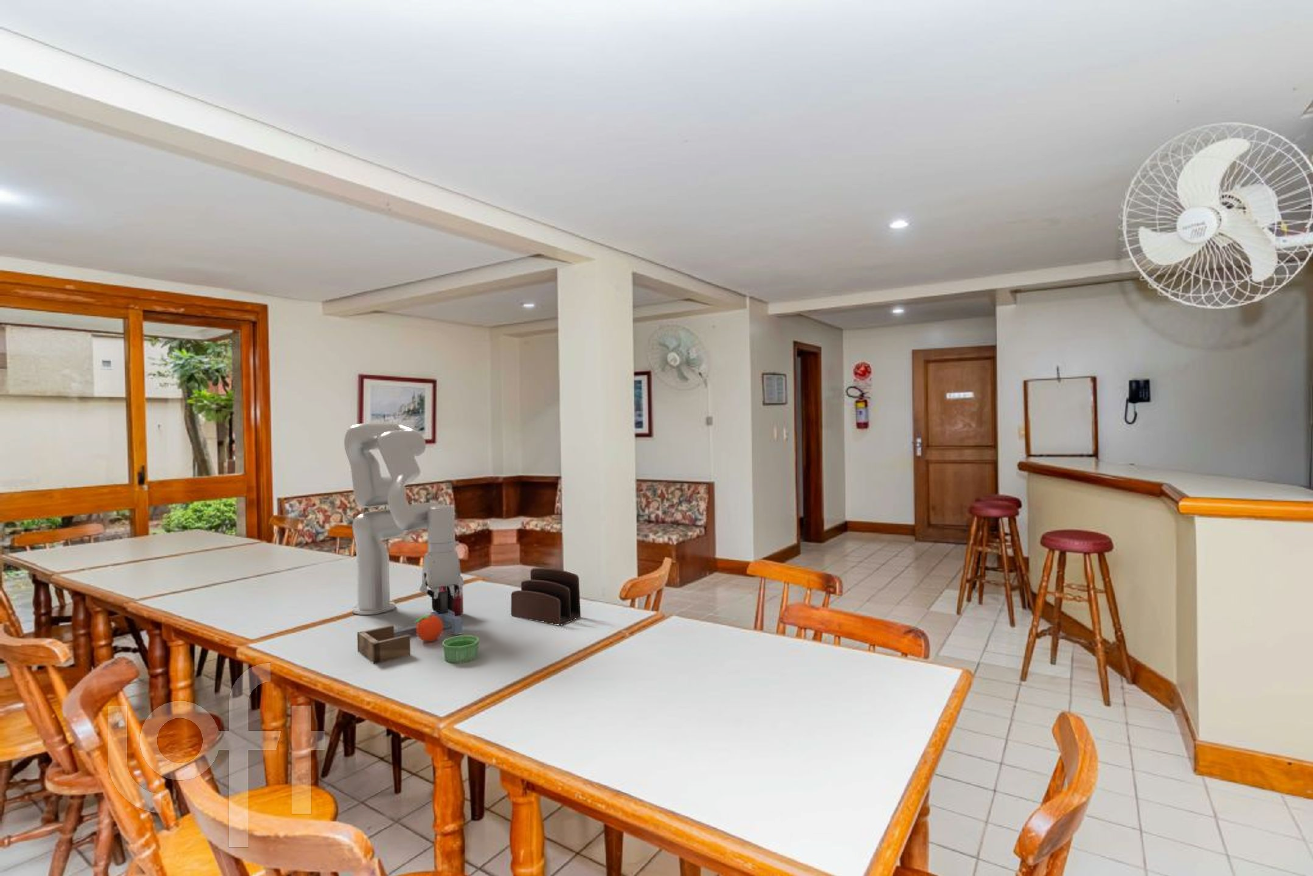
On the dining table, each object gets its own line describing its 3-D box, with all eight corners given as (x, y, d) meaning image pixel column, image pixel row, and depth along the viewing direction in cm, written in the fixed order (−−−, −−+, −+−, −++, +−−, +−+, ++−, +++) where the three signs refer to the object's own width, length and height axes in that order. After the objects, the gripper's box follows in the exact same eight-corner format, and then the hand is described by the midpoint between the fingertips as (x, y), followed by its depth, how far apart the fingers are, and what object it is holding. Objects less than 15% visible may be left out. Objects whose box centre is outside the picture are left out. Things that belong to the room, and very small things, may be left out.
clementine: (414, 647, 172) (413, 621, 172) (411, 639, 178) (410, 614, 178) (445, 642, 175) (444, 616, 175) (441, 635, 182) (440, 610, 181)
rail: (378, 640, 178) (378, 632, 178) (452, 623, 192) (452, 616, 192) (382, 642, 176) (382, 635, 176) (457, 625, 190) (457, 618, 190)
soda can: (467, 612, 203) (466, 574, 203) (457, 619, 196) (457, 580, 196) (444, 612, 204) (444, 574, 204) (434, 619, 197) (434, 580, 196)
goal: (357, 651, 169) (357, 632, 169) (392, 643, 175) (392, 624, 175) (374, 663, 160) (373, 644, 160) (410, 654, 166) (410, 635, 166)
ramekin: (486, 654, 166) (486, 637, 166) (462, 666, 158) (462, 648, 158) (459, 649, 170) (459, 633, 170) (434, 661, 162) (434, 643, 162)
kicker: (431, 625, 189) (430, 592, 189) (447, 622, 192) (446, 588, 192) (450, 636, 180) (449, 600, 179) (466, 632, 183) (466, 597, 183)
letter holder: (532, 608, 208) (532, 565, 207) (581, 617, 197) (580, 572, 197) (510, 616, 199) (509, 571, 199) (559, 626, 189) (559, 578, 188)
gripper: (461, 542, 197) (462, 602, 197) (408, 549, 185) (409, 613, 186) (473, 545, 191) (474, 606, 192) (419, 553, 180) (420, 618, 180)
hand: (442, 609), depth 189 cm, fingers closed on kicker, 3 cm apart
